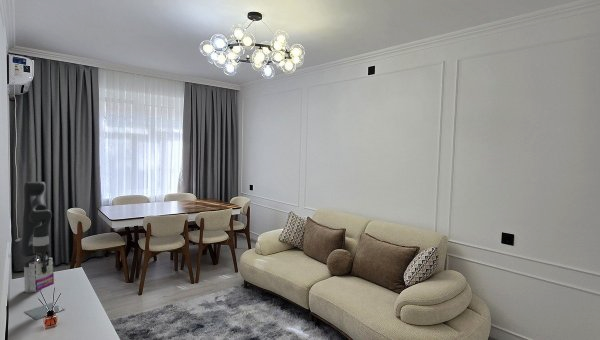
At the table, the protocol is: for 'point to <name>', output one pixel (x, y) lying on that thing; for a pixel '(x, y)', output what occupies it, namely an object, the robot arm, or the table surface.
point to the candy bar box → (40, 275)
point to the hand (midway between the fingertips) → (41, 271)
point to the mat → (41, 311)
